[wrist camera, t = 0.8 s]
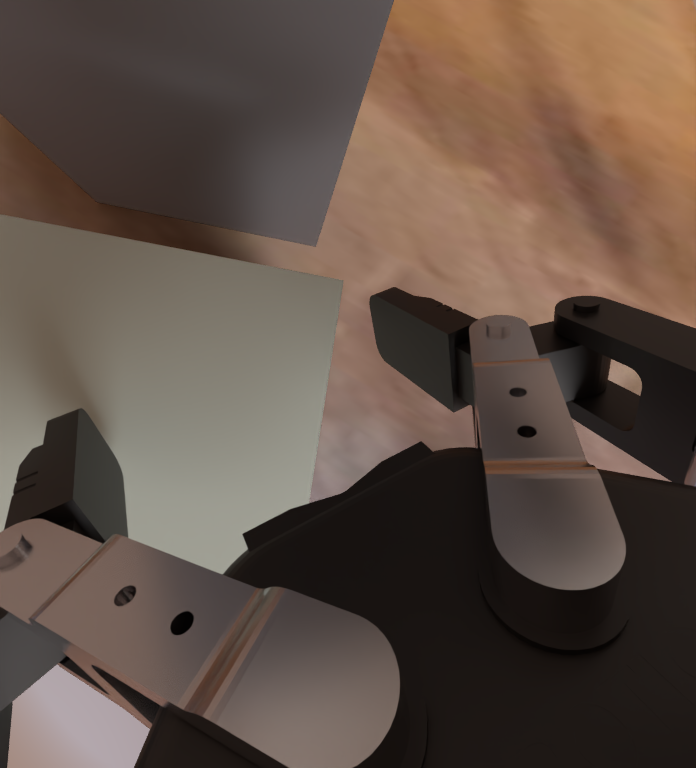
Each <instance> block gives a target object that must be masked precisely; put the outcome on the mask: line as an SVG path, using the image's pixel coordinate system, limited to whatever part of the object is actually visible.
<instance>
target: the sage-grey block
mask: <svg viewBox="0 0 696 768" xmlns="http://www.w3.org/2000/svg"><path fill="white" fill-rule="evenodd" d="M343 281H344V280H339V279H334V278H329V277H323V276H318V275H313V274H308V273H303V272H297V271H292V270H287V269H282V268H277V267H272V266H266V265H261V264H256V263H251V262H246V261H240V260H235V259H230V258H225V257H220V256H215V255H209V254H204V253H199V252H194V251H189V250H184V249H178V248H173V247H168V246H163V245H158V244H152V243H147V242H142V241H137V240H132V239H127V238H121V237H116V236H111V235H106V234H101V233H95V232H90V231H85V230H80V229H75V228H70V227H64V226H59V225H54V224H49V223H44V222H38V221H33V220H28V219H23V218H18V217H13V216H7V215H2V214H0V532H2V531H3V530H4V527H5V523H6V519H7V515H8V510H9V506H10V502H11V498H12V496H13V495H14V494H13V490H14V486H15V483H17V481H16V477H17V473H18V469H19V465H20V464H21V463H22V461H23V460H24V459H25V457H26V456H27V455H28V454H29V452H30V451H31V450H32V449H33V448H35V447H38V446H40V445H43V441H44V435H45V430H46V424H47V421H48V420H51V419H53V418H56V417H59V416H61V415H64V414H66V413H69V412H71V411H74V410H77V409H79V408H82V409H84V410H85V411H86V412H87V414H88V415H89V416H90V418H91V420H92V421H93V423H94V424H95V426H96V427H97V429H98V430H99V432H100V433H101V435H102V437H103V438H104V440H105V441H106V443H107V444H108V446H109V447H110V449H111V450H112V452H113V454H114V455H115V457H116V459H117V461H118V463H119V465H120V467H121V470H122V473H123V479H124V491H125V503H126V515H127V527H128V538H130V539H132V540H135V541H137V542H140V543H143V544H145V545H148V546H150V547H153V548H155V549H158V550H160V551H163V552H166V553H168V554H171V555H173V556H176V557H178V558H181V559H184V560H186V561H189V562H191V563H194V564H196V565H199V566H202V567H204V568H207V569H209V570H212V571H214V572H217V573H220V574H223V573H224V572H225V571H226V570H227V569H228V567H229V566H230V565H231V564H232V563H233V562H234V561H235V560H236V559H237V558H238V557H239V556H240V555H241V554H243V553H244V552H245V551H246V550H247V549H248V548H247V545H246V543H245V540H244V537H243V535H242V534H243V533H245V532H247V531H249V530H251V529H253V528H255V527H257V526H258V525H260V524H262V523H264V522H266V521H268V520H270V519H272V518H274V517H276V516H278V515H280V514H282V513H284V512H286V511H287V510H289V509H292V508H295V507H298V506H302V505H305V504H309V499H310V493H311V486H312V480H313V473H314V467H315V461H316V454H317V448H318V441H319V435H320V429H321V422H322V416H323V409H324V403H325V397H326V390H327V384H328V377H329V371H330V365H331V358H332V352H333V345H334V339H335V333H336V326H337V320H338V313H339V307H340V300H341V294H342V288H343Z"/></svg>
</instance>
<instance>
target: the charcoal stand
mask: <svg viewBox="0 0 696 768" xmlns="http://www.w3.org/2000/svg"><path fill="white" fill-rule="evenodd" d="M393 1H394V0H0V114H2V115H3V116H4V117H5V118H6V119H7V120H8V121H9V122H10V123H11V124H12V125H14V126H15V127H16V128H17V129H18V130H19V131H20V132H21V133H22V134H23V135H24V136H25V137H27V138H28V139H29V140H30V141H31V142H32V143H33V144H34V145H35V146H36V147H37V148H39V149H40V150H41V151H42V152H43V153H44V154H45V155H46V156H47V157H48V158H49V159H50V160H52V161H53V162H54V163H55V164H56V165H57V166H58V167H59V168H60V169H61V170H62V171H64V172H65V173H66V174H67V175H68V176H69V177H70V178H71V179H72V180H73V181H74V182H75V183H77V184H78V185H79V186H80V187H81V188H82V189H83V190H84V191H85V192H86V193H87V194H88V195H90V196H91V197H92V198H93V199H94V200H95V201H96V202H99V203H104V204H109V205H114V206H119V207H124V208H128V209H133V210H138V211H143V212H148V213H153V214H158V215H163V216H168V217H173V218H178V219H182V220H187V221H192V222H197V223H202V224H207V225H212V226H217V227H222V228H227V229H232V230H237V231H241V232H246V233H251V234H256V235H261V236H266V237H271V238H276V239H281V240H286V241H291V242H295V243H300V244H305V245H310V246H315V247H316V244H317V241H318V238H319V235H320V232H321V229H322V226H323V222H324V219H325V216H326V213H327V210H328V207H329V203H330V200H331V197H332V194H333V191H334V188H335V184H336V181H337V178H338V175H339V172H340V169H341V166H342V162H343V159H344V156H345V153H346V150H347V147H348V143H349V140H350V137H351V134H352V131H353V128H354V124H355V121H356V118H357V115H358V112H359V109H360V106H361V102H362V99H363V96H364V93H365V90H366V87H367V83H368V80H369V77H370V74H371V71H372V68H373V65H374V61H375V58H376V55H377V52H378V49H379V46H380V42H381V39H382V36H383V33H384V30H385V27H386V23H387V20H388V17H389V14H390V11H391V8H392V5H393Z"/></svg>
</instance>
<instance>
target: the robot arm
mask: <svg viewBox="0 0 696 768" xmlns="http://www.w3.org/2000/svg"><path fill="white" fill-rule="evenodd" d="M370 310H371V316H372V322H373V327H374V333H375V339H376V344H377V348H378V351H379V353H380V355H381V356H382V358H383V359H384V361H385V362H387V363H388V364H389V365H391V366H392V367H393V368H395V369H396V370H397V371H399V372H400V373H401V374H403V375H404V376H405V377H407V378H408V379H409V380H411V381H412V382H413V383H415V384H416V385H417V386H419V387H420V388H421V389H423V390H424V391H425V392H427V393H428V394H429V395H431V396H432V397H434V398H435V399H436V400H438V401H439V402H440V403H442V404H443V405H444V406H446V407H447V408H448V409H450V410H451V411H452V412H456V411H458V410H460V409H462V408H464V407H466V406H468V405H472V411H473V426H474V438H475V448H471V447H464V448H449V449H443V450H438V451H434V452H432V451H431V450H430V449H429V448H428V447H427V446H426V445H425V444H424V443H423V442H419V443H417V444H415V445H413V446H411V447H409V448H407V449H405V450H403V451H401V452H400V453H398V454H396V455H394V456H392V457H390V458H388V459H386V460H384V461H382V462H381V463H379V464H378V465H377V466H376V467H375V468H373V469H372V470H371V471H370V472H369V473H367V474H366V475H365V476H364V477H362V478H361V479H360V480H359V481H358V482H356V483H355V484H354V485H353V486H352V487H350V488H349V489H348V490H347V491H345V492H343V493H341V494H339V495H335V496H332V497H329V498H325V499H322V500H319V501H315V502H312V503H309V504H305V505H302V506H298V507H295V508H292V509H289V510H287V511H286V512H284V513H282V514H280V515H278V516H276V517H274V518H272V519H270V520H268V521H266V522H264V523H262V524H260V525H258V526H257V527H255V528H253V529H251V530H249V531H247V532H245V533H243V534H242V535H243V537H244V540H245V543H246V545H247V548H248V549H247V550H246V551H245V552H244V553H243V554H241V555H240V556H239V557H238V558H237V559H236V560H235V561H234V562H233V563H232V564H231V565H230V566H229V567H228V569H227V570H226V571H225V572H224V573H223V574H220V573H217V572H214V571H212V570H209V569H207V568H204V567H202V566H199V565H196V564H194V563H191V562H189V561H186V560H184V559H181V558H178V557H176V556H173V555H171V554H168V553H166V552H163V551H160V550H158V549H155V548H153V547H150V546H148V545H145V544H143V543H140V542H137V541H135V540H132V539H130V538H128V527H127V515H126V503H125V491H124V479H123V473H122V470H121V467H120V465H119V463H118V461H117V459H116V457H115V455H114V454H113V452H112V450H111V449H110V447H109V446H108V444H107V443H106V441H105V440H104V438H103V437H102V435H101V433H100V432H99V430H98V429H97V427H96V426H95V424H94V423H93V421H92V420H91V418H90V416H89V415H88V414H87V412H86V411H85V410H84V409H82V408H79V409H77V410H74V411H71V412H69V413H66V414H64V415H61V416H59V417H56V418H53V419H51V420H48V421H47V424H46V430H45V435H44V441H43V445H40V446H38V447H35V448H33V449H32V450H31V451H30V452H29V454H28V455H27V456H26V457H25V459H24V460H23V461H22V463H21V464H20V465H19V469H18V473H17V477H16V481H17V483H15V486H14V490H13V494H14V495H13V496H12V498H11V502H10V506H9V510H8V515H7V519H6V523H5V527H4V530H3V531H2V532H0V768H7V762H8V750H9V738H10V727H11V715H12V701H13V700H15V699H16V698H17V697H18V696H19V695H21V694H22V693H23V692H24V691H25V690H27V689H28V688H29V687H30V686H31V685H33V684H34V683H35V682H36V681H37V680H39V679H40V678H41V677H42V676H43V675H45V674H46V673H47V672H48V671H49V670H51V669H52V668H53V667H54V666H55V665H57V664H58V665H59V666H60V667H61V668H63V669H64V670H66V671H67V672H69V673H70V674H72V675H73V676H75V677H77V678H78V679H79V680H81V681H83V682H84V683H86V684H87V685H89V686H90V687H92V688H93V689H95V690H96V691H98V692H99V693H101V694H102V695H104V696H105V697H107V698H108V699H110V700H111V701H113V702H114V703H116V704H118V705H119V706H120V707H122V708H123V709H125V710H126V711H127V712H129V713H130V714H131V715H133V716H134V717H135V718H136V719H137V720H139V721H140V722H141V723H143V724H144V725H145V726H146V727H148V728H149V729H150V731H149V734H148V736H147V738H146V741H145V743H144V745H143V748H142V750H141V752H140V755H139V757H138V759H137V762H136V764H135V766H134V768H696V328H693V327H690V326H687V325H684V324H681V323H678V322H675V321H672V320H669V319H666V318H663V317H660V316H657V315H654V314H651V313H648V312H645V311H642V310H639V309H636V308H633V307H630V306H627V305H624V304H621V303H618V302H615V301H612V300H609V299H606V298H602V297H596V296H577V297H571V298H567V299H564V300H562V301H560V302H559V303H558V304H557V305H556V306H555V315H554V321H552V322H548V323H544V324H539V325H535V326H531V327H529V325H528V323H527V322H526V321H524V320H523V319H521V318H518V317H515V316H509V315H494V316H488V317H484V318H481V319H479V320H478V319H475V318H473V317H471V316H469V315H467V314H464V313H462V312H460V311H458V310H456V309H452V308H451V307H449V306H447V305H443V304H442V303H440V302H438V301H436V300H434V299H431V298H426V297H419V296H413V295H411V294H409V293H407V292H405V291H402V290H400V289H398V288H396V287H393V288H390V289H388V290H385V291H382V292H380V293H377V294H375V295H372V296H371V297H370ZM611 359H613V360H615V361H617V362H620V363H622V364H624V365H626V366H628V367H630V368H632V369H633V370H635V371H636V372H637V374H638V375H639V376H640V378H641V381H642V391H641V396H639V395H637V394H635V393H633V392H631V391H629V390H627V389H625V388H623V387H621V386H619V385H617V384H615V383H613V382H611V381H609V380H608V375H609V369H610V362H611ZM571 418H572V419H574V420H576V421H577V422H579V423H580V424H582V425H583V426H585V427H587V428H588V429H590V430H591V431H593V432H594V433H596V434H598V435H599V436H601V437H602V438H604V439H605V440H607V441H609V442H610V443H612V444H613V445H615V446H617V447H618V448H620V449H621V450H623V451H624V452H626V453H628V454H629V455H631V456H632V457H634V458H635V459H637V460H639V461H640V462H642V463H643V464H645V465H646V466H648V467H650V468H651V469H653V470H654V471H656V472H657V473H659V474H661V475H662V476H664V477H665V478H667V479H669V480H670V481H672V482H668V481H663V480H657V479H652V478H646V477H640V476H635V475H629V474H624V473H618V472H612V471H607V470H601V469H596V467H595V466H593V465H590V464H589V463H588V462H587V460H586V458H585V455H584V452H583V449H582V447H581V444H580V441H579V438H578V436H577V433H576V430H575V427H574V425H573V422H572V419H571Z"/></svg>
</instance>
